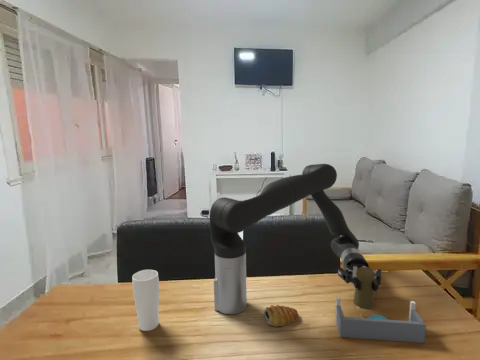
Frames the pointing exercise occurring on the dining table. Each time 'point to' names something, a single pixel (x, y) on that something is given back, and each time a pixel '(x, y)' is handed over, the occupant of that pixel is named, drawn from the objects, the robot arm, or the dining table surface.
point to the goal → (381, 327)
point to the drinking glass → (146, 298)
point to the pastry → (280, 315)
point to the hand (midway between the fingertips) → (367, 287)
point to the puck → (377, 317)
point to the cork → (365, 288)
